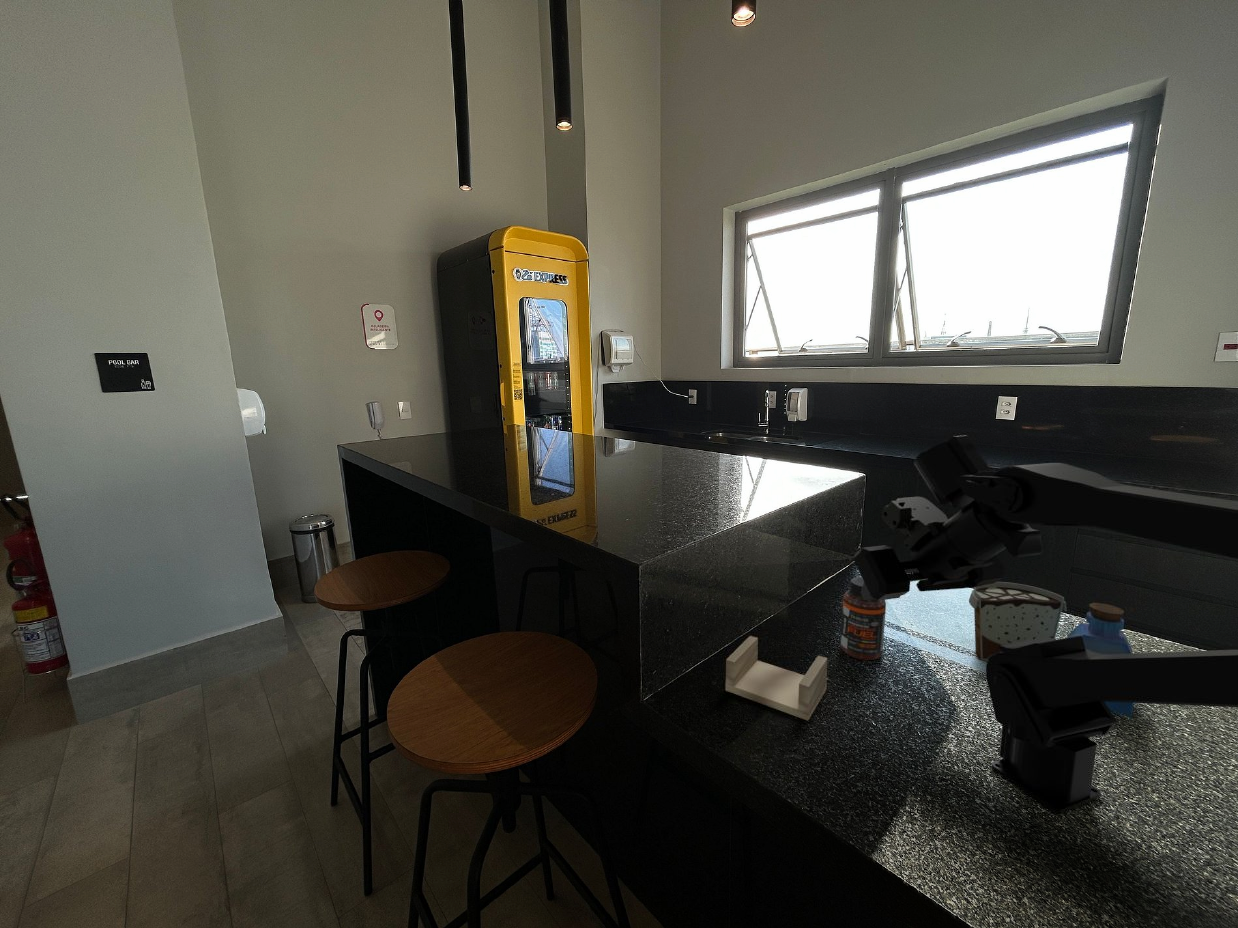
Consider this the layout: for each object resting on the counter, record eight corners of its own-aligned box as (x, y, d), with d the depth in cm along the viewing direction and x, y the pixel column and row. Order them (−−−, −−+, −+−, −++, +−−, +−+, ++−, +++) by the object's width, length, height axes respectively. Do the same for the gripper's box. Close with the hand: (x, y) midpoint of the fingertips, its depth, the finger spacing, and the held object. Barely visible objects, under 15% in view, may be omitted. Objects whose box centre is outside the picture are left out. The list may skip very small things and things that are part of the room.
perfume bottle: (1062, 676, 71) (1072, 594, 69) (1125, 692, 67) (1137, 606, 65) (1064, 697, 66) (1074, 610, 64) (1131, 716, 62) (1144, 624, 60)
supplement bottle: (842, 659, 76) (845, 587, 75) (837, 640, 82) (840, 572, 80) (886, 664, 75) (891, 591, 73) (878, 644, 80) (882, 576, 79)
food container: (1031, 641, 80) (1037, 580, 79) (1060, 662, 74) (1068, 597, 73) (948, 639, 81) (952, 579, 80) (970, 659, 75) (975, 595, 74)
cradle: (826, 689, 69) (827, 658, 68) (808, 720, 63) (809, 686, 62) (749, 664, 76) (749, 635, 75) (725, 690, 69) (725, 659, 69)
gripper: (991, 476, 66) (917, 534, 78) (867, 486, 61) (809, 546, 74) (1048, 554, 60) (957, 604, 72) (915, 571, 55) (843, 622, 67)
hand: (891, 591), depth 71 cm, fingers open, 9 cm apart
